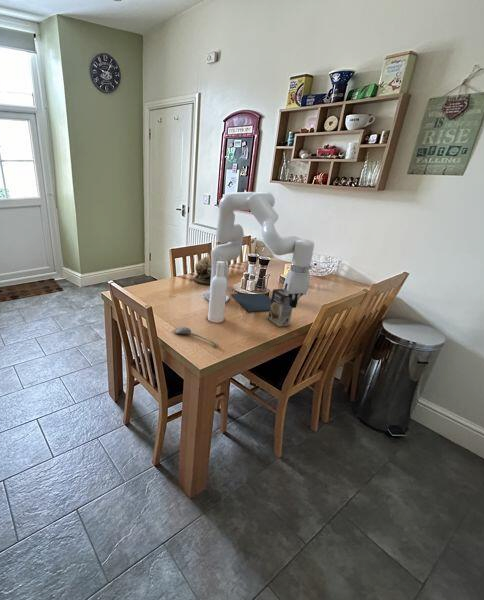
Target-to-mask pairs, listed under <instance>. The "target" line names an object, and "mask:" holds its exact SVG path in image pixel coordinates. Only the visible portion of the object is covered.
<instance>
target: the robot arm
mask: <svg viewBox="0 0 484 600" xmlns="http://www.w3.org/2000/svg"><path fill="white" fill-rule="evenodd" d="M275 199H276V198H275V197H274V195H273V194H272V193H270V192H268V191H261V192H260V191H242V192H241V191H240V192H230V193H227V194H225V195H223V196H222V197H221V198H220V200H219V203H218V204H219V205H218V219H217V224H216V225H217V226H216V233H215V239H216V241H217V242H218V243H220V244H217V245H215V246H213V247H212V249H211V250H210V261H212V268H211V281H212V279H213V277H215V276H216V268H217V265H216V264H217V262H218V261H223V262H225V266H224V277H225V278H226V280H227V284H228V281H229V271H230V270H229V269H230V268H229V266H228V262H229V261H234V260H236V259H238V258H239V257H240V256H241V252H242V247H243V241H244V234H245V233H244V228H243V226H242V225H241V224H240V223H237V222H235V220H236V215H235V211H246V210H249V211H250V213H251V214H252V216H253V217H254V218H255V219H256V221H257V222H258V224H259V225H260V226H261V234H262V239H263V241H264V243H265V245H266V246H267V247H268V249H269V250H270V251H271V252H272V253H273V254H274V255H276V256H286V255H289V254H292V259H291V264H290V269H289V270H288V271H287V273H286V275H285V278H284V281H283V287H282V289H283V290H284V295H285V296H289V298H290V301H289V306H291V307H292V309H296V308H297V305H298V302H299V300H301V299H300V298H301V297H303V296H305V295H307V293H308V291H309V287H310V280H311V273H310V269H312V267H313V266H312V265H311V263H312V258H313V253H314V248H315V242H314V241H312V240H310V239H303V238H301V237H298V236H295V235H287V236H283V237H281V235H280V234H279V233H278V231H277V230H276V227H275V224H276V222H277V221H278V220H279V214H278V212H277V211H276V210H275V209H274V208H273V207H274V206H275V203H276V201H275ZM210 287H211V282H210V285H209V288H210ZM227 292H228V290H227V291H226V301H225V303H228V301H229V298H230V297H229V296H228V295H227ZM200 295H201V297H204V298H206V300H208V301H209V299H210V289H209V290H207V291H206V292H205V291H204V292H201V294H200Z"/></svg>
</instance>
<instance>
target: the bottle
mask: <svg viewBox="0 0 484 600" xmlns="http://www.w3.org/2000/svg"><path fill="white" fill-rule="evenodd" d="M216 265H217V268H216V276H215V277H213V279H212V281H211V287H210V286H209V290H210V299H209V300H208V313H207V320H208V321H209V322H212V323H217V324H218V323H219V324H220V323H222V322H223V321H224V320H225V319H224V318H225V309H226V302H225V301H226V295H227V293H226V291H227V292H228V283H227V280H226V278H225V277H224V266H225V262H223V261H218V262H217V264H216Z"/></svg>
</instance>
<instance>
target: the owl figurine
mask: <svg viewBox="0 0 484 600" xmlns="http://www.w3.org/2000/svg"><path fill="white" fill-rule="evenodd" d="M211 268H212V261H211V260H210V258H209V257H208V256H207V255H206V256H204V257H203V258H200V259H199V260H198V261H197V263H196V264H195V268H194V269H195V273H196V274H197V275H195V276H194V277H193V281H194V282H195V283H198V284H200V285H204V286H210V282H211Z"/></svg>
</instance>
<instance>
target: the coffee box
mask: <svg viewBox="0 0 484 600" xmlns="http://www.w3.org/2000/svg"><path fill="white" fill-rule="evenodd" d="M270 299H271V305H270V311H268V317H267V319H268V320H269V321H270V322H271V323H273V324H274V325H276V327H286V326H290V323H291V318H292V312H293V308H292V307H291V306H289V301H290V298H289V296H285V295H284V290H283V288H275V289H272V294H271V298H270Z"/></svg>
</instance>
